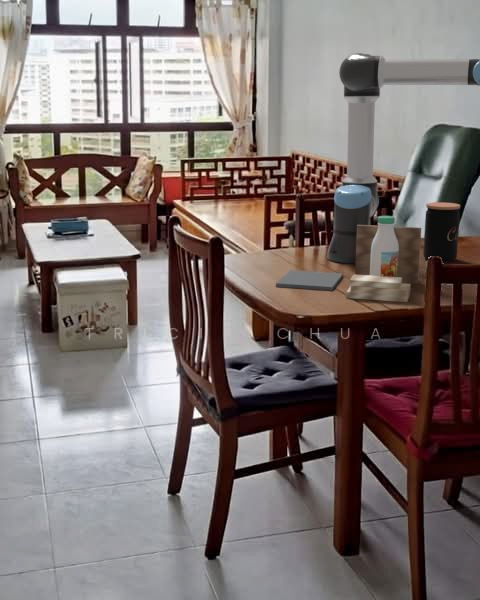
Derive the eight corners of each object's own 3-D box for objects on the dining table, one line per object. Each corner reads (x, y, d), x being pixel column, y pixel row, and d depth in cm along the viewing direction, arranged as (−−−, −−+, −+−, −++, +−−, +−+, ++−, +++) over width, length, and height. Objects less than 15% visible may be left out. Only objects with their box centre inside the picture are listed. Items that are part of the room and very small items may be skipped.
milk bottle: (368, 290, 233) (372, 218, 228) (369, 283, 240) (372, 214, 235) (397, 291, 232) (400, 219, 227) (396, 284, 239) (400, 215, 234)
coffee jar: (450, 264, 267) (454, 207, 263) (418, 260, 273) (421, 205, 268) (460, 258, 276) (464, 203, 272) (429, 255, 282) (432, 201, 277)
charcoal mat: (275, 286, 236) (275, 283, 236) (290, 273, 253) (290, 270, 253) (332, 290, 232) (332, 287, 232) (342, 276, 249) (343, 273, 249)
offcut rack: (342, 297, 225) (344, 238, 221) (357, 276, 249) (359, 223, 245) (410, 302, 220) (414, 242, 216) (419, 280, 244) (422, 226, 240)
